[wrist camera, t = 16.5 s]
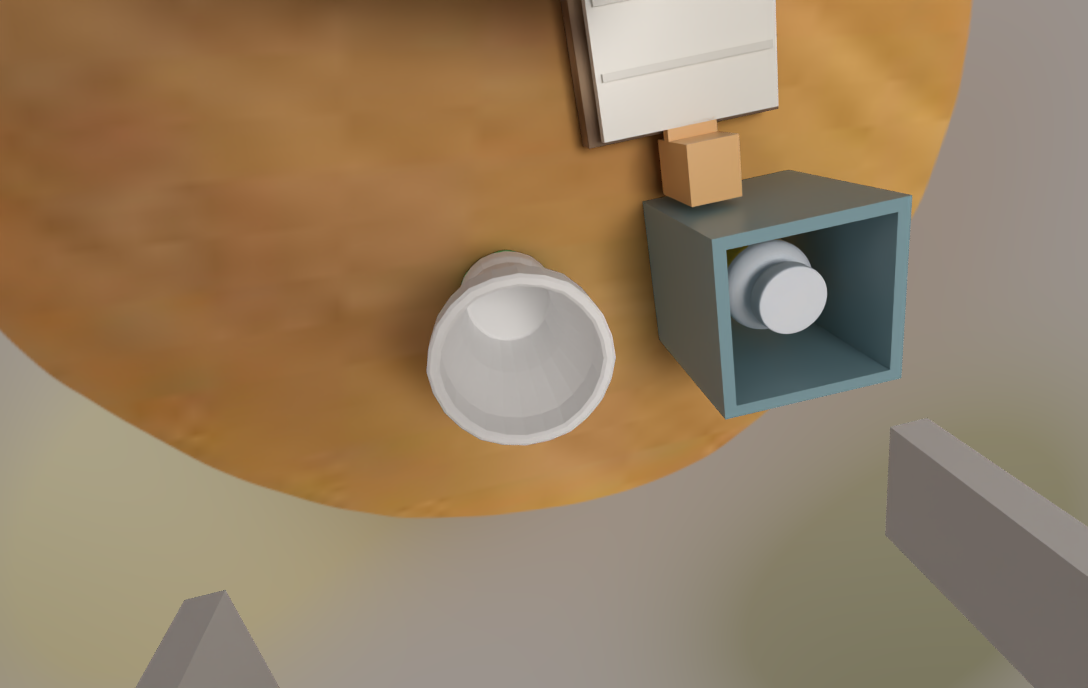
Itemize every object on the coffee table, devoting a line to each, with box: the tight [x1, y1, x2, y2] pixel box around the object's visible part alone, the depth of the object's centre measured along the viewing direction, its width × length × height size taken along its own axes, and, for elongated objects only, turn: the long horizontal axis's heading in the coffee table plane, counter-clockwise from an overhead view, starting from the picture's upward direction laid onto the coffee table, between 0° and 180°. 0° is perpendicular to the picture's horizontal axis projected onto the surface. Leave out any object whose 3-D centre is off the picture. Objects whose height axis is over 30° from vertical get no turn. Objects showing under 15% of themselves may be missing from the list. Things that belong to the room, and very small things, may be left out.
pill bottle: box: [726, 238, 827, 334], centre depth 44 cm, size 6×6×12 cm
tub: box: [643, 170, 912, 419], centre depth 42 cm, size 12×12×14 cm
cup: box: [427, 250, 616, 445], centre depth 41 cm, size 11×11×14 cm
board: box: [560, 0, 778, 149], centre depth 40 cm, size 15×14×2 cm
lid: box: [581, 0, 778, 207], centre depth 39 cm, size 17×12×6 cm
